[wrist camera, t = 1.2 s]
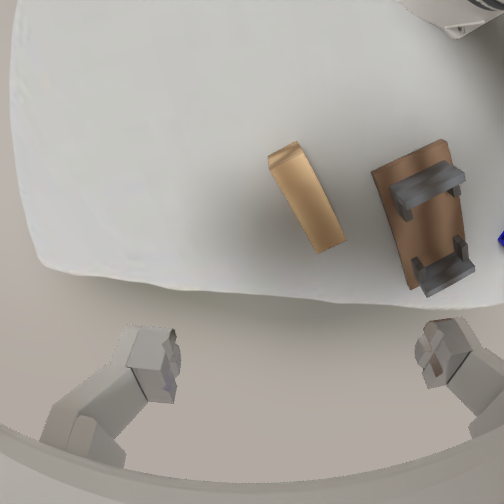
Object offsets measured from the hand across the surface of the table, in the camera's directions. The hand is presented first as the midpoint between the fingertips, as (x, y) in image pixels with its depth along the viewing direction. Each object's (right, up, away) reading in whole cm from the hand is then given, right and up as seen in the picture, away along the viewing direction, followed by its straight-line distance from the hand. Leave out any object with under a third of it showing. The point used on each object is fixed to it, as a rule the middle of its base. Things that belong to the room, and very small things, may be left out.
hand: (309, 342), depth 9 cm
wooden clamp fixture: (+24, +8, +31) cm, 40 cm away
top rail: (+5, +11, +29) cm, 31 cm away
